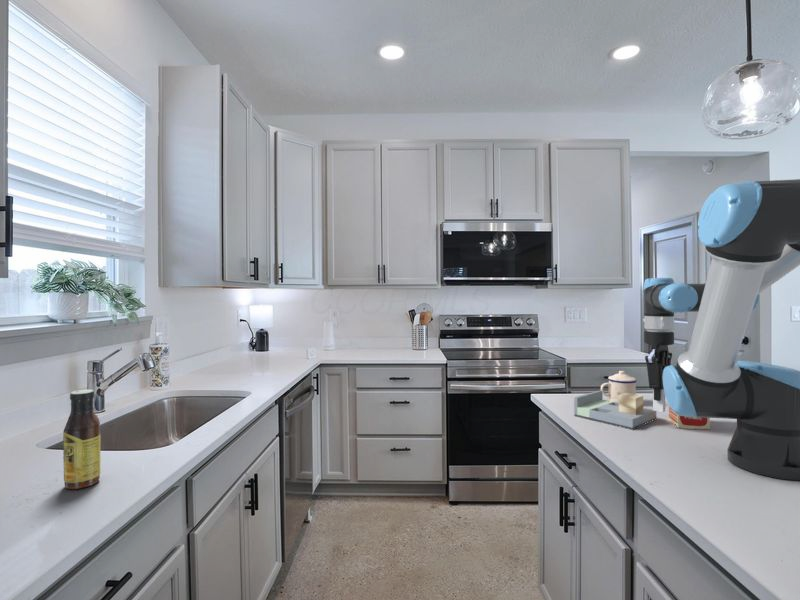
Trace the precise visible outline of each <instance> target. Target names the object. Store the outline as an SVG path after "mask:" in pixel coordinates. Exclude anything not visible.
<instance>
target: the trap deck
mask: <svg viewBox="0 0 800 600" xmlns="http://www.w3.org/2000/svg"><path fill="white" fill-rule="evenodd" d="M603 397H604V396H603V394H602V391H601V389H600V390H597V391H593V392H590V393H585V394H582V395H578V396H574V397H573V398H574V406H573V407H574V408H573V410H574V415H573V416H574V417H578V418H581V419H587V420H590V421H595V422H599V423H602V422H603V424H606V423H608V424H607V425H610V424H612V425H611V426H615V425H617V426H616V427H619V426H621V427H620V428H623V427H625V428H624V429H627V428H629V430H631V429H633V430H635V429H634V428H636V429H638V428H640V427H642V426H641V425H643V424H645V423H647V422H650V421H652V420H654V421H656V420H657V411H654V410H653V408H648V407H643V412H642V413H639V414H637V415H634V414H629V413H624V412H620V411H619V403H618V402H612V401H609V400H607V399H603ZM655 419H656V420H655ZM652 422H653V421H652ZM650 423H651V422H650ZM647 424H648V423H647ZM645 425H646V424H645ZM639 426H640V427H639ZM643 426H644V425H643ZM637 427H638V428H637Z"/></svg>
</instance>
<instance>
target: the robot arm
mask: <svg viewBox="0 0 800 600" xmlns="http://www.w3.org/2000/svg"><path fill="white" fill-rule="evenodd" d="M699 212H700V213H699V215H698V221H697V226H698V229H697V237H698V239H699V241H700V242H701V244H702V245H704V246H705V251H706V253H707V254H708V255H709V256H710V257H711V261H710V265H709V269H708V273H707V277H706V280H705V282H704V283H683V282H682V283H681V282H679V283H676V282H675V280H674V279H673V277H651V278H646V279H645V280H644V284H643V290H642V292H643V313H644V314H643V317H644V318H643V319H642V322H643V329H645V330H644V331H643V332H644V333H643V334H644V335H643V343H645V344H646V345H649V350H648V355H645V356H644V360H645V363H646V371H647V379H648V387H649V389H652V409H653V410H654V411H656V412H660V413H665V412H666V402H667V404H668V407H669V406H670V408H671V409H672V410H673V412H674V413H676V414H677V415H680V416H687V417H693V418H697V417H701V418H710V419H730V420H732V419H733V420H736V428H735V431H734V433H733V435H732V438H731V440H730V442H729V444H728V447H727V452H726V453H727V454H726V455H727V456H726V457H727V460H728V462H729V463H731V464H732V465H734V466H736V467H738V468H740V469H742V470H745V471H747V472H750V473H754V474H757V475H761V476H765V477H770V478H776V479H783V480H787V481H789V480H790V481H791V480H792V481H800V370H797V369H794V368H791V367H787V366H782V365H778V364H777V365H776V364H771V363H764V362H758V361H751V360H750V361H749V360H738V361H736V360H737V359H738V355H739V352H740V349H741V345H742V343H743V339H744V337H745V333H746V330H747V327H748V325H749V321H750V318H751V315H752V312H753V310H754V309H756V307H757V305H758V303H759V302H760V294H761V293H763V292H764V291H766V290H767V289H769V287H771V286H772V285H774V284H775V283H777V282H778V281H779V280H781V279H782V278H783V277H785V276H786V275H788V274H790V273H791V272H792V271H794V270H795V269H797V268H798V267H799V266H800V178H798V179H796V178H795V179H780V180H779V179H778V180H777V179H776V180H775V179H774V180H753V181H752V180H747V181H742V182H735V183H727V184H724V185H721V186H719V187H718V188H716V189H715V190H714V191H713V192H711V193H710V195H708V197H707V198H706V199H705V201H704V203H703V204H702V208H701V209H700V211H699ZM687 312H688V313H694V312H695V313H697V315H696V320H695V323H694V328H693V332H692V335H691V339H690V343H689V346H688V350H687V351H684V352H682V353H680V354H679V355H678V358H677V362H676V365H672V363H671V361H672V358H673V352H670V351H669V346H672V345H675V332H674V331H673V330H675V314H676V313H687Z"/></svg>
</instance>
